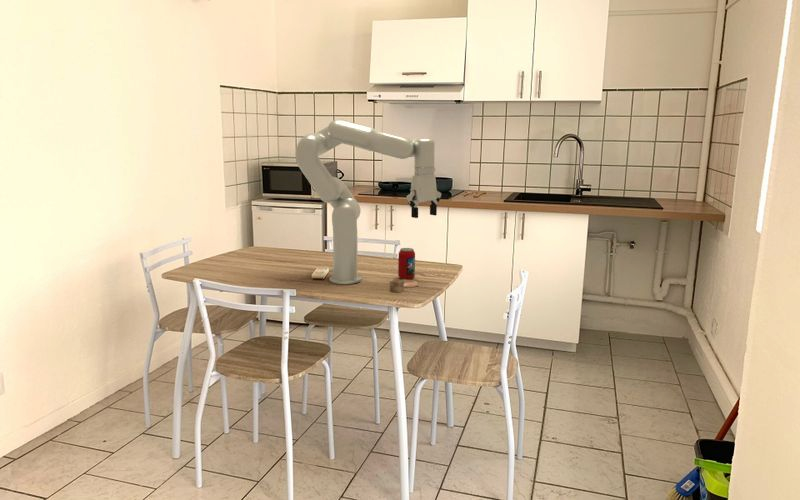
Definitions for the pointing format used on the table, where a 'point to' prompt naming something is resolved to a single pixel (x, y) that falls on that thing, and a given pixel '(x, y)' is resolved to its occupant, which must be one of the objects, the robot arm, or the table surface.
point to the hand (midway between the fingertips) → (424, 216)
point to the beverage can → (406, 263)
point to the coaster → (410, 283)
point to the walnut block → (396, 285)
